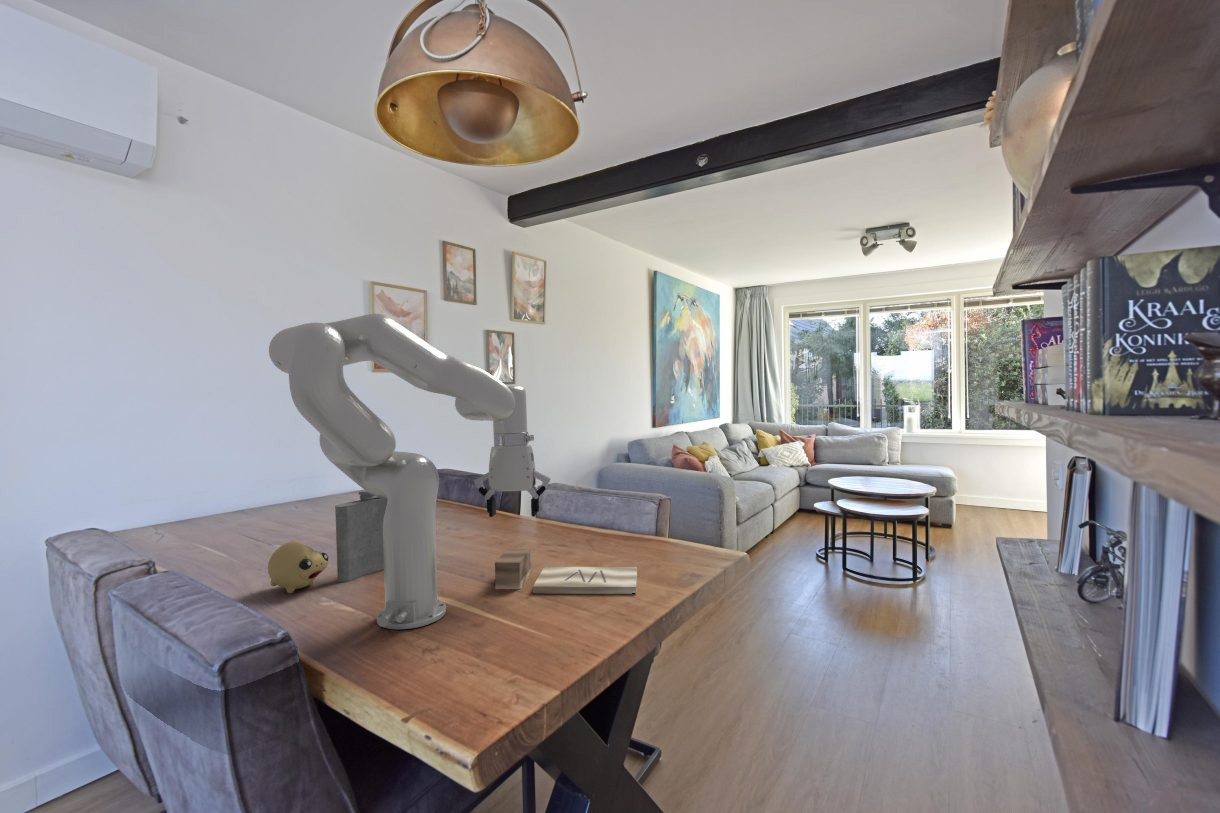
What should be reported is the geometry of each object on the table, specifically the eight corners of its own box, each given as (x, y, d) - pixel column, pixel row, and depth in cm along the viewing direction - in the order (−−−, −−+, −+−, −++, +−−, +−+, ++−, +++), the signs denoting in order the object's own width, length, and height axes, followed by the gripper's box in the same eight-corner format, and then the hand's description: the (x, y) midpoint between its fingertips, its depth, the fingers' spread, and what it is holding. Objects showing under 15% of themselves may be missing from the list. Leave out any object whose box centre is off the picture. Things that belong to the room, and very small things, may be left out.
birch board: (636, 593, 116) (636, 586, 116) (533, 593, 117) (532, 586, 117) (637, 573, 129) (637, 566, 128) (544, 573, 130) (544, 566, 130)
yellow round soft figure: (302, 600, 116) (300, 550, 115) (258, 594, 119) (256, 546, 119) (337, 584, 125) (336, 537, 125) (296, 579, 129) (294, 534, 128)
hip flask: (342, 583, 126) (339, 496, 125) (333, 579, 128) (330, 494, 128) (403, 564, 139) (401, 485, 138) (394, 561, 141) (391, 484, 140)
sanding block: (520, 589, 120) (519, 562, 120) (495, 589, 120) (494, 562, 120) (530, 574, 130) (530, 549, 129) (507, 574, 130) (507, 549, 130)
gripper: (551, 438, 127) (553, 511, 128) (478, 439, 128) (481, 512, 129) (545, 441, 120) (548, 519, 120) (467, 443, 121) (471, 520, 122)
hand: (513, 515), depth 125 cm, fingers open, 9 cm apart
